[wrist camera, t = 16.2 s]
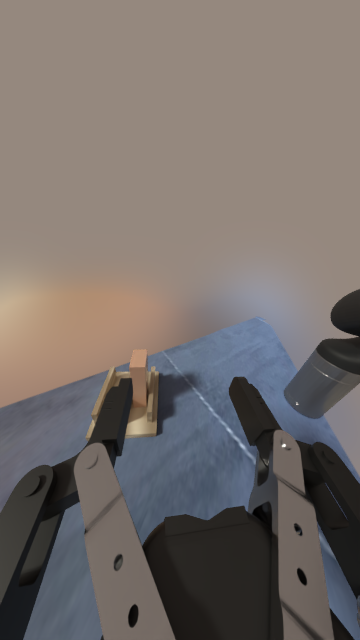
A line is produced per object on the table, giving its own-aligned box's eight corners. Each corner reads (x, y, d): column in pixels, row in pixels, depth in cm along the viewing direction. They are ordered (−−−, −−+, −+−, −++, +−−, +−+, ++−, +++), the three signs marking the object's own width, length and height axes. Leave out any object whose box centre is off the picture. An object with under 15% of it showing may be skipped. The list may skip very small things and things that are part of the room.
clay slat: (148, 388, 39) (147, 349, 32) (146, 406, 34) (145, 367, 27) (136, 388, 38) (133, 349, 31) (133, 407, 34) (129, 367, 27)
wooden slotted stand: (158, 374, 45) (159, 361, 42) (156, 436, 31) (156, 422, 28) (112, 375, 43) (109, 361, 40) (87, 441, 29) (79, 426, 26)
